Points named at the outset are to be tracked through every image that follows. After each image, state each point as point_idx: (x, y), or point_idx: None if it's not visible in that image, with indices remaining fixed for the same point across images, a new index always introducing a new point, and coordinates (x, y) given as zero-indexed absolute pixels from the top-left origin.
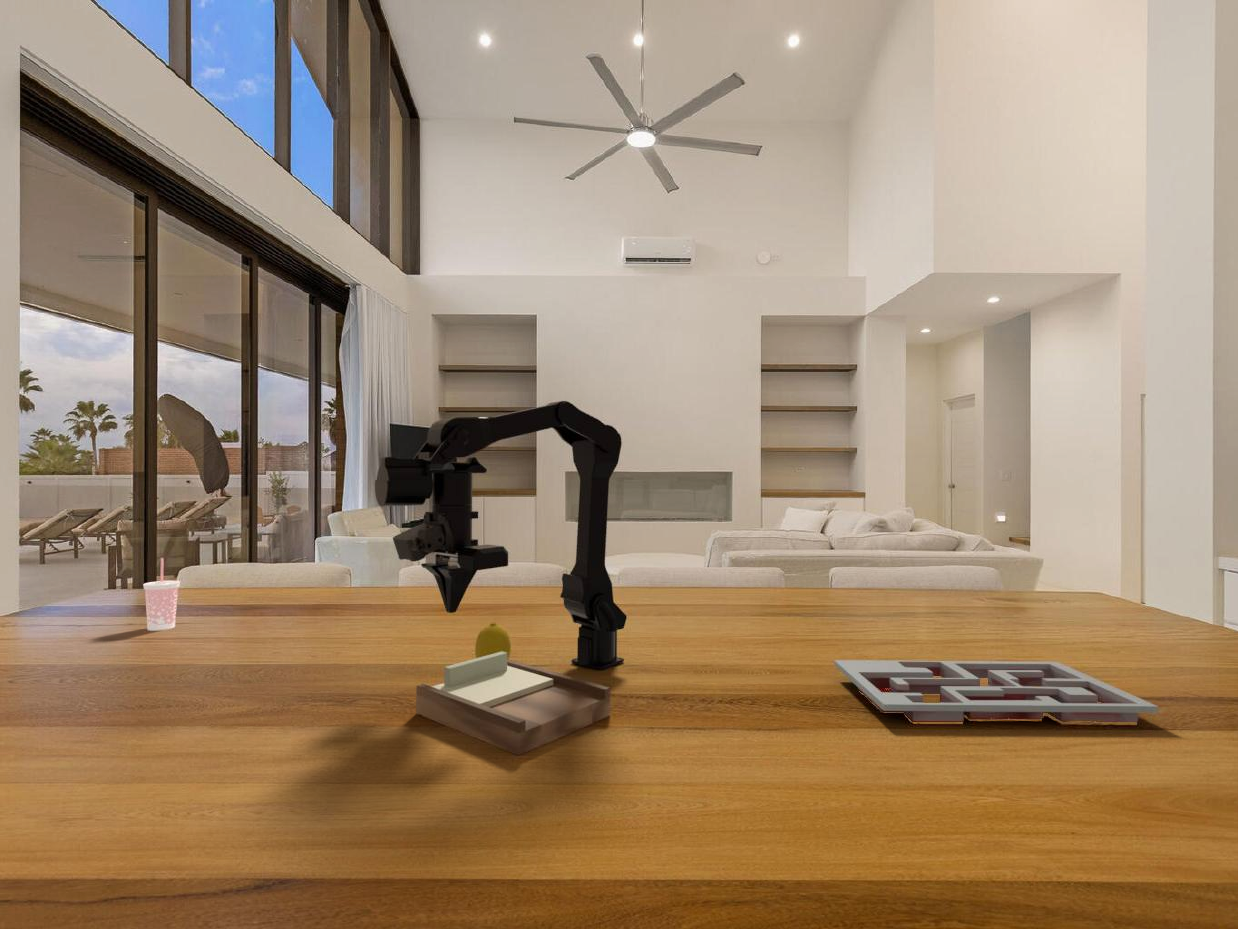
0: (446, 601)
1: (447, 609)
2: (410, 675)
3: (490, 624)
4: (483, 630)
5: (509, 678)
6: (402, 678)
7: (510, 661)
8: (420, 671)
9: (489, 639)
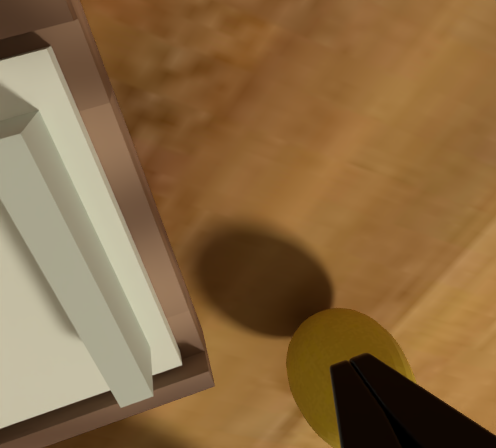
0: (392, 417)
1: (361, 369)
2: (465, 116)
3: None
4: None
5: (18, 343)
6: (459, 83)
7: (188, 385)
8: (474, 156)
9: (331, 391)
